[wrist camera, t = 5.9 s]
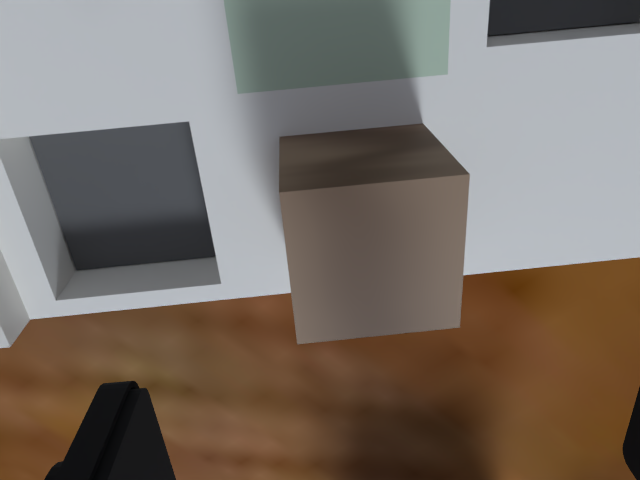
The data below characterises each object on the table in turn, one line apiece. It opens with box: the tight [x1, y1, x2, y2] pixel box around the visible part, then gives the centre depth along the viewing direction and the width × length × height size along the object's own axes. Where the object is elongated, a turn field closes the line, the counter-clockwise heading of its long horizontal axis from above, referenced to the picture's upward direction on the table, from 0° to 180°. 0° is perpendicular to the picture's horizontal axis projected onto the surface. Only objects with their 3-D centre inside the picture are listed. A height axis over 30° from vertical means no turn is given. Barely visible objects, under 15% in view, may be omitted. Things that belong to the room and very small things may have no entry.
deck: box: [0, 0, 640, 348], centre depth 17 cm, size 29×16×4 cm, turn 94°
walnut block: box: [279, 123, 470, 344], centre depth 17 cm, size 5×5×5 cm
